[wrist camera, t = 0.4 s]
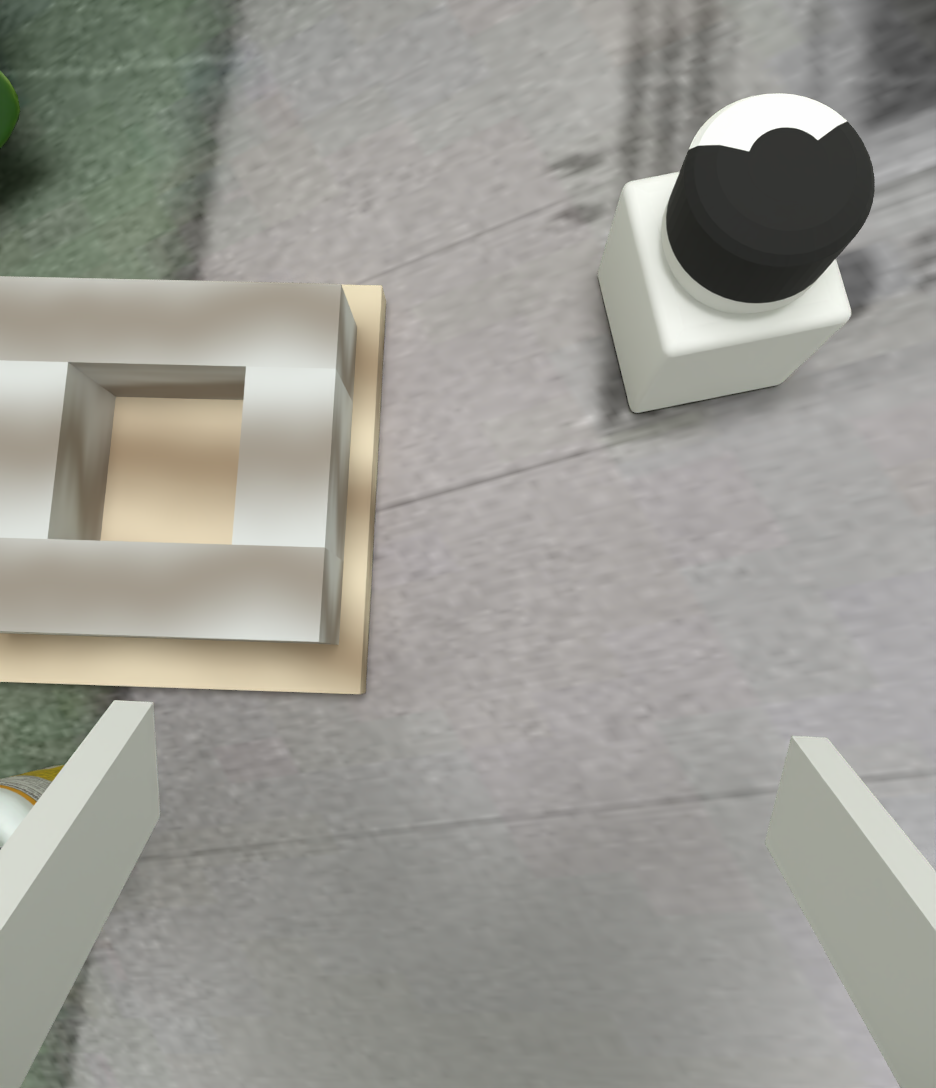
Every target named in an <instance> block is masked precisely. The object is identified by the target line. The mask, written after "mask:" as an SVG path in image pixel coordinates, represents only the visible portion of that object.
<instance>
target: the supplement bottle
mask: <svg viewBox="0 0 936 1088" xmlns="http://www.w3.org/2000/svg"><path fill="white" fill-rule="evenodd" d="M64 766H65V764H60V765H55V766H51V767H47V768H43V769H39V770H35V771H31V772H28V773H24V774H20V775H16V776H12V777H8V778H4V779H0V847H1V848H2V847H3V846H4V844H5V843H6V842H7V840H8V839H9V838H10V836H11V835H12V834H13V832H14V831H15V830H16V829H17V827H18V826H19V825H20V823H21V822H22V821H23V819H24V818H25V817H26V815H27V814H28V813H29V811H30V810H31V809H32V808H33V806H34V805H35V804H36V802H37V801H38V800H39V798H40V797H41V796H42V794H43V793H44V792H45V791H46V789H47V788H48V787H49V785H50V784H51V783H52V781H53V780H54V779H55V777H56V776H57V775H58V773H59V772H60V771H61V770H62V768H63V767H64Z"/></svg>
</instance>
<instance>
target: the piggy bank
mask: <svg viewBox="0 0 936 1088" xmlns="http://www.w3.org/2000/svg"><path fill="white" fill-rule="evenodd" d="M19 113H20V106H19V101H18V96H17V94H16V92H15V90H14V88H13V86H12V84H11V83H10V81H9V80H8V79H7V78H6V76H5V75H4V74H3V73H2V72H1V71H0V149H1V147H2V146H3V145H4V144H5V143H6V142H7V140H8V139H9V137H10V135H11V133H12V131H13V129H14V127H15V125H16V123H17V121H18V119H19Z"/></svg>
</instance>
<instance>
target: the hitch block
mask: <svg viewBox="0 0 936 1088" xmlns="http://www.w3.org/2000/svg"><path fill="white" fill-rule="evenodd" d="M385 312H386V299H385V295H384V291H383V288H382V286H379V285H341V284H322V283H277V282H232V281H187V280H141V279H96V278H51V277H6V276H0V682H23V683H52V684H81V685H109V686H138V687H167V688H195V689H224V690H252V691H281V692H310V693H338V694H363V693H366V674H367V655H368V636H369V617H370V598H371V579H372V560H373V541H374V522H375V503H376V484H377V464H378V445H379V426H380V407H381V388H382V369H383V350H384V331H385Z"/></svg>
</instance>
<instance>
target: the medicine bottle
mask: <svg viewBox="0 0 936 1088" xmlns="http://www.w3.org/2000/svg"><path fill="white" fill-rule="evenodd" d="M873 197H874V173H873V166H872V163H871V160H870V157H869V154H868V152H867V150H866V148H865V146H864V143H863V142H862V140H861V138H860V137H859V135H858V134H857V132H856V131H855V130H854V128H853V127H852V126H851V125H850V124H849V123H848V122H847V121H846V120H845V119H844V118H843V117H842V116H841V115H839V114H838V113H837V112H835V111H834V110H832V109H831V108H829V107H828V106H826V105H824V104H822V103H820V102H818V101H815V100H812V99H809V98H806V97H802V96H798V95H792V94H763V95H757V96H751V97H748V98H745V99H741V100H739V101H736V102H734V103H732V104H730V105H728V106H726V107H724V108H723V109H721V110H720V111H718V112H717V113H716V114H714V115H713V116H712V117H711V118H710V119H708V120H707V122H706V123H705V124H704V125H703V126H702V127H701V128H700V130H699V131H698V133H697V134H696V136H695V137H694V139H693V141H692V143H691V146H690V148H689V150H688V152H687V155H686V157H685V160H684V162H683V165H682V167H681V170H680V172H676V173H671V174H666V175H660V176H655V177H650V178H645V179H640V180H635V181H630V182H628V183H626V185H625V186H624V187H623V189H622V192H621V195H620V199H619V202H618V205H617V209H616V212H615V216H614V219H613V222H612V226H611V229H610V233H609V236H608V240H607V243H606V246H605V250H604V253H603V257H602V260H601V264H600V267H599V270H598V279H599V283H600V287H601V291H602V295H603V300H604V304H605V308H606V312H607V316H608V320H609V324H610V328H611V333H612V337H613V341H614V345H615V349H616V353H617V357H618V361H619V366H620V370H621V374H622V378H623V382H624V386H625V390H626V394H627V399H628V403H629V407H630V409H631V411H633V412H634V413H640V412H645V411H650V410H655V409H660V408H665V407H670V406H675V405H680V404H685V403H690V402H695V401H700V400H705V399H710V398H715V397H720V396H725V395H730V394H735V393H740V392H745V391H750V390H755V389H760V388H765V387H770V386H775V385H779V384H781V383H783V382H784V381H785V380H786V379H787V378H788V377H789V376H790V375H791V374H792V373H793V372H794V371H795V370H796V369H797V368H798V367H800V366H801V365H802V364H803V363H804V362H805V361H806V360H807V359H808V358H809V357H810V356H811V355H812V354H813V353H814V352H815V351H816V350H818V349H819V348H820V347H821V346H822V345H823V344H824V343H825V342H826V341H827V340H828V339H829V338H830V337H831V336H832V335H833V334H835V333H836V332H837V331H838V330H839V329H840V328H841V327H842V326H843V325H844V324H845V323H846V322H847V321H848V320H849V318H850V316H851V308H850V305H849V302H848V298H847V295H846V291H845V288H844V285H843V281H842V278H841V274H840V271H839V268H838V264H837V261H836V258H837V257H838V255H839V254H840V253H841V252H842V251H843V250H844V249H845V247H846V246H847V245H848V244H849V243H850V242H851V240H852V239H853V238H854V237H855V236H856V235H857V233H858V232H859V230H860V229H861V228H862V226H863V225H864V223H865V221H866V219H867V217H868V215H869V212H870V209H871V206H872V203H873Z"/></svg>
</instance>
